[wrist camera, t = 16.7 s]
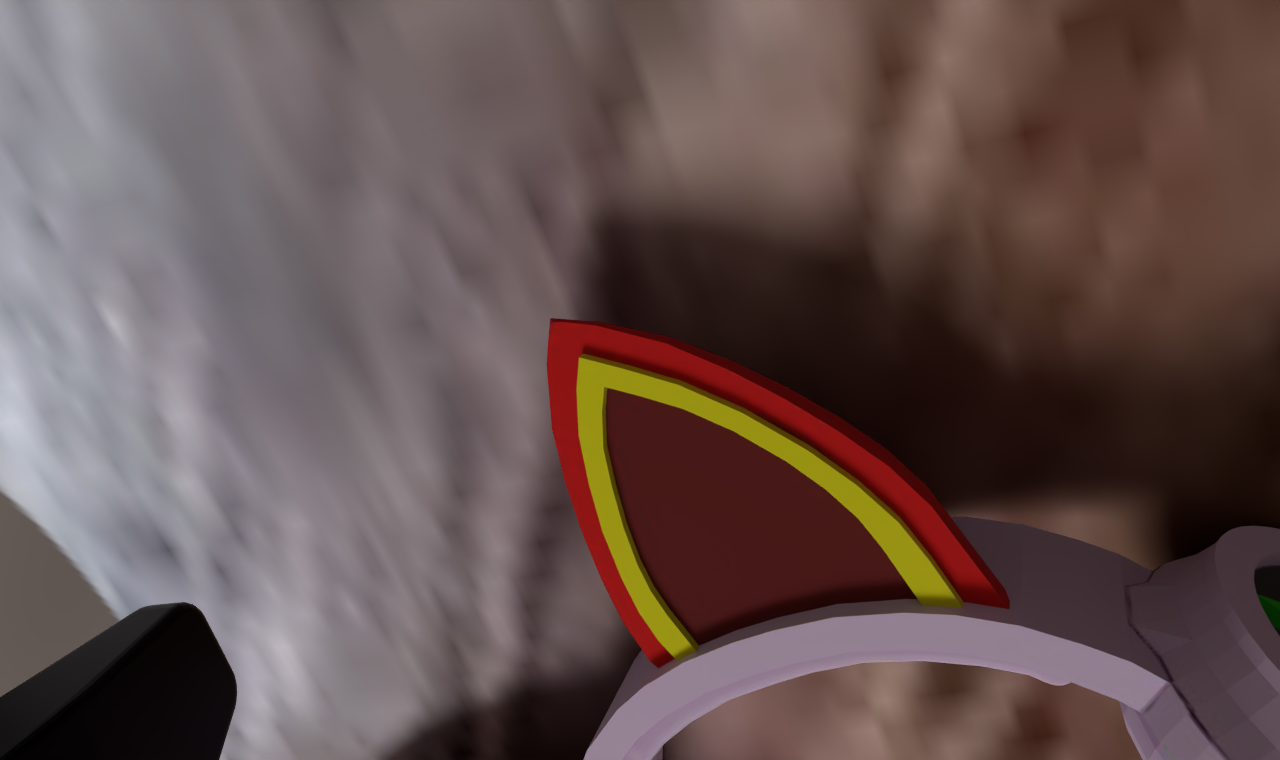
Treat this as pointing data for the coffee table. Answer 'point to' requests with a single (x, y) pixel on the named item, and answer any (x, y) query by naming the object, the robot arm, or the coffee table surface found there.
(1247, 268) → the coffee table surface
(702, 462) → the headphones
